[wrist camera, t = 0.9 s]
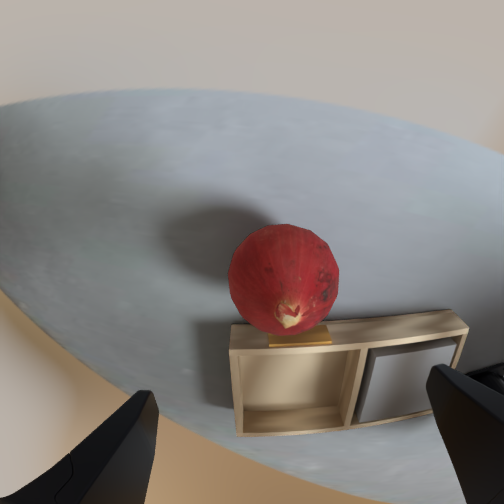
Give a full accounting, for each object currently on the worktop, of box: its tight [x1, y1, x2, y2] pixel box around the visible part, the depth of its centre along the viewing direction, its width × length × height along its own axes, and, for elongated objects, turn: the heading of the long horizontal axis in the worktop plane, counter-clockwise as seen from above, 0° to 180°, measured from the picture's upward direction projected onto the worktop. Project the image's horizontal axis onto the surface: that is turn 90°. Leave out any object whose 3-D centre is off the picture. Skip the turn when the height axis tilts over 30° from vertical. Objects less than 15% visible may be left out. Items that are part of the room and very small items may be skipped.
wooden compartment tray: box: [229, 309, 469, 437], centre depth 22 cm, size 18×9×3 cm, turn 92°
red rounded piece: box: [228, 224, 339, 336], centre depth 17 cm, size 6×6×8 cm
